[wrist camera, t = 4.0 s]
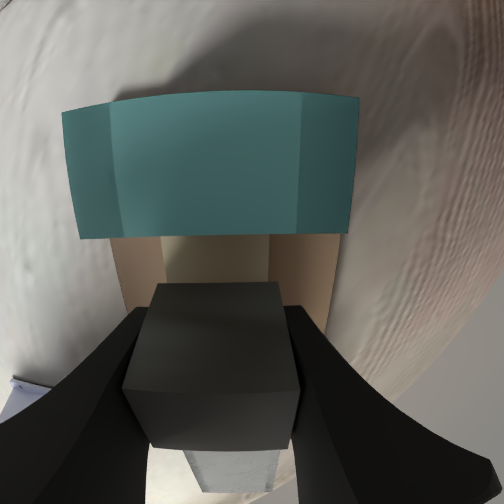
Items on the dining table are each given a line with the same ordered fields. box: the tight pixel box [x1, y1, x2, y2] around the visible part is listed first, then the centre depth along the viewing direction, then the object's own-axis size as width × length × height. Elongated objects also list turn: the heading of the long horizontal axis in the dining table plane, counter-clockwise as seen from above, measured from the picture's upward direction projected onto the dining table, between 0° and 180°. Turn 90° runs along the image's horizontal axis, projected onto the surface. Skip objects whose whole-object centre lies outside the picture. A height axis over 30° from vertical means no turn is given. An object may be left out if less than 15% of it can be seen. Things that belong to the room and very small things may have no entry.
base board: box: [110, 233, 341, 439], centre depth 16 cm, size 10×23×1 cm, turn 0°
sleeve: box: [183, 450, 280, 493], centre depth 16 cm, size 5×8×5 cm, turn 0°
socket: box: [62, 90, 359, 239], centre depth 8 cm, size 6×3×6 cm, turn 90°
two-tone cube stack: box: [122, 234, 300, 452], centre depth 11 cm, size 4×14×7 cm, turn 0°
